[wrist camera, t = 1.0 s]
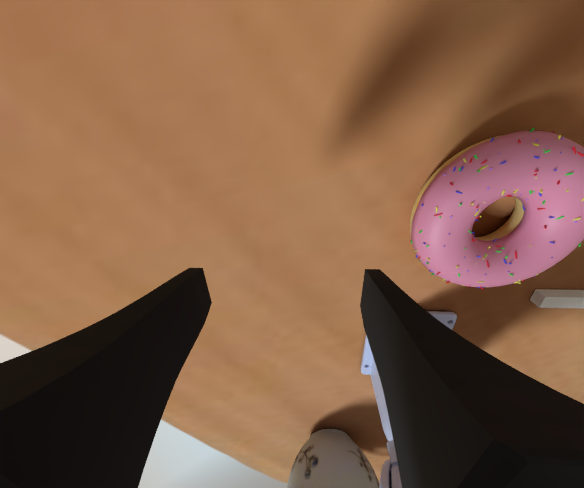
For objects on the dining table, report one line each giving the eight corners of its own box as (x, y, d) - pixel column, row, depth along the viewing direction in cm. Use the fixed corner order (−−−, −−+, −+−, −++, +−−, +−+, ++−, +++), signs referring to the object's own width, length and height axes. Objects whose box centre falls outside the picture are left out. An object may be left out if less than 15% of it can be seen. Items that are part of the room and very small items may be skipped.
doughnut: (602, 162, 16) (690, 176, 12) (487, 283, 21) (524, 318, 17) (461, 102, 15) (510, 97, 11) (376, 245, 20) (390, 274, 16)
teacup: (271, 431, 36) (262, 508, 29) (337, 405, 31) (345, 488, 24) (332, 468, 41) (337, 541, 34) (398, 450, 36) (419, 530, 29)
